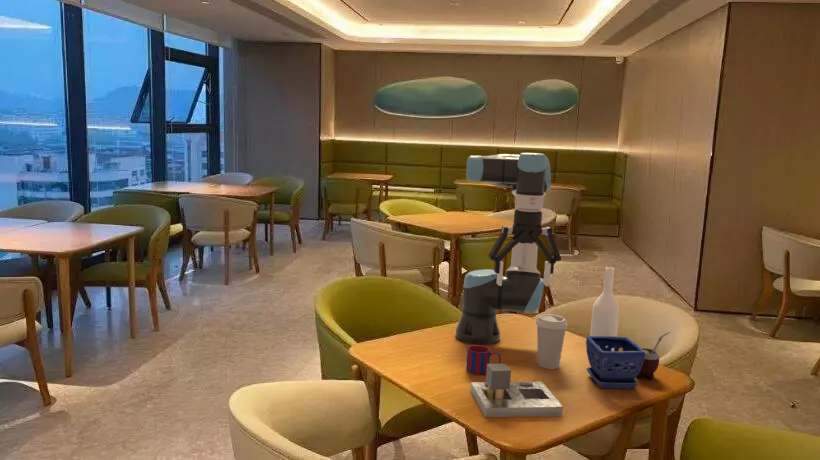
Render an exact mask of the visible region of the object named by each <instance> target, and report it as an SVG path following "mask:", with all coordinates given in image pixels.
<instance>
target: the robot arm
mask: <svg viewBox="0 0 820 460" xmlns="http://www.w3.org/2000/svg"><path fill="white" fill-rule="evenodd" d="M465 171H466V173H465V175H466V177H465V178H466V180H467V181H470V182H475V183H485V184H489V185H492V186H496V187H500V188H510V189H511V194H512V195H513V196H514V197H515V200H514V214H513V225H512V227H508V226H505V225H503V226H502V227H501V229H500V234H499V236H498V237H497V239H496V241H495V243H494V245H493V247H492V248H491V250H490V251H489V253H488V255H487V256H488V258H489V259H490V260H491V261H493V262H494V264H493V265H494V267H493V269H487V268H486V269H475V270H471V271H469V272H467V273H466V274H465V276H464V281H463V285H462V287H463V293H462V294H463V297H462V309H461V316H460V318H459V320H458V323H457V326H456V327H455V338H457V339H458V340H460V341H462V342H465V343H469V344H473V345H488V344H489V345H490V344H495V343H497V342H499V341H500V339H501V338H500V337H501V331H500V328H499V323H498V320H497V319H498V318H497V311H504V312H505V311H506V312H517V313H524V314H526V313H531V314H534V313H537V312H538V311H539V309H540V305H541V301H542V297H543V293H544V292H543V291H544V288H545V287H549V286H550V279H551V275H553V274H554V270H555V269H554V267H555V264H556V263H557V262H561V260H562V257H561V253H560V252H559V248H558V247H557V245H556V242H555V239H554V237H553V229H552V228H551V227H549V226H546V227H542V221H543V212H542V211H541V210H543V207H544V205H543V204H544V197H545V196H547V191H550V190H551V189H552V188H551V186H552V181H551V180H552V179H551V178H552V177H551V176H552V174H551V164H550V160H549V158H548V157H547V156H546V154H544V153H541V152H540V153H539V152H520V153H519V154H516V153H515V154H513V153H511V154H510V153H499V154H498V153H497V154H492V155H469V156H468V157H467V160H466V170H465ZM510 233H512V237H511V238H510V239H509V241H508V242H507V243H506V245H505V246H504V247H502V246H503V245H504V243H505V242H506V240H507V237H508V236H509V235H510ZM542 234H543V236H545V238H546V240H547V241H546V242H547V243H548V244H547V245H548V247H549V249H550V251H551V253H552V255H553V256H552V255H551V253H550V252H549V250H548V249H547V248H546V246H545V245H544V243H543V242H542V240H541V239H540V236H541V235H542ZM538 249H539V250H540V252H541V253H542V254H543V256H544V257H545V259H546V260H545V261H544V271H543V278H541V274H542V273H541V272H540V271H539V270H538V268H537V265H538V264H537V263H538V252H539V251H538ZM510 252H511V258H510V266H509V267H508V268H507V269H506V270H505V275H504V273H503V271H504V262H503V261H502V260H503V259H504V258H505V257H507V255H508V254H509V253H510ZM544 286H545V287H544Z"/></svg>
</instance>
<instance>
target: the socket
mask: <svg viewBox="0 0 820 460" xmlns="http://www.w3.org/2000/svg"><path fill="white" fill-rule="evenodd" d="M487 390H488V384H487V383H486V381H483V382H482V381H480V382H478V381H476V382H475V381H473V382H470V394H471V395H472V397H473V398H474V400H475V401H476V403H477V405H478V407H479V409H480V411H481V412H482V415H483V416H484V418H522V417H523V418H525V417H527V418H528V417H531V418H533V417H534V418H535V417H563V412H564V411H563V410H564V406H563V405H562V404H561V402H560V401H559V399H557V398H556V397H555V395H553V393H552V392H551V391H550V390H549V389H548V387H547V386H546V385H545V384H544V383H543V382H542V381H510V389H504V399H503V400H495V393H496V389H493V398H492V400H488V399H487Z"/></svg>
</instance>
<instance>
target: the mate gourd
mask: <svg viewBox="0 0 820 460" xmlns="http://www.w3.org/2000/svg"><path fill="white" fill-rule="evenodd" d="M669 334H671V331H668V332H666V333H663V334H662V335H661V336H659V338H658V339H657V342H656V343H655V346H654V348H653V349H652V348H645V347H642V349H643V350H644V352H645V358H644V362H643V365H642V368H641V370H640V372H639V374H638V375H637V377H636V378H635V379H642V377H643V378H645V379H647V380H649V381H650V380H652V381H653V377H654V375H655V374H654V373H655V372H657V370H658V368H659V365H660V356H659V354H658V352H657V351H656V350H657V348H658V346H659V344H660V342H661V341H662V339H663V338H664V337H665V336H667V335H669Z"/></svg>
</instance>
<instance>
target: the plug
mask: <svg viewBox="0 0 820 460" xmlns="http://www.w3.org/2000/svg"><path fill="white" fill-rule="evenodd" d="M511 376H512V370H511V368H510V367H509V366H508V365H507V364H506V363H500V364H498V363H489V364H487V372H486V374H485V382H486V383H487V384H488V390H487V399H488V400H492V398H493V389H496V393H495V400H503V399H504V389H510V382H511Z"/></svg>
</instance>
